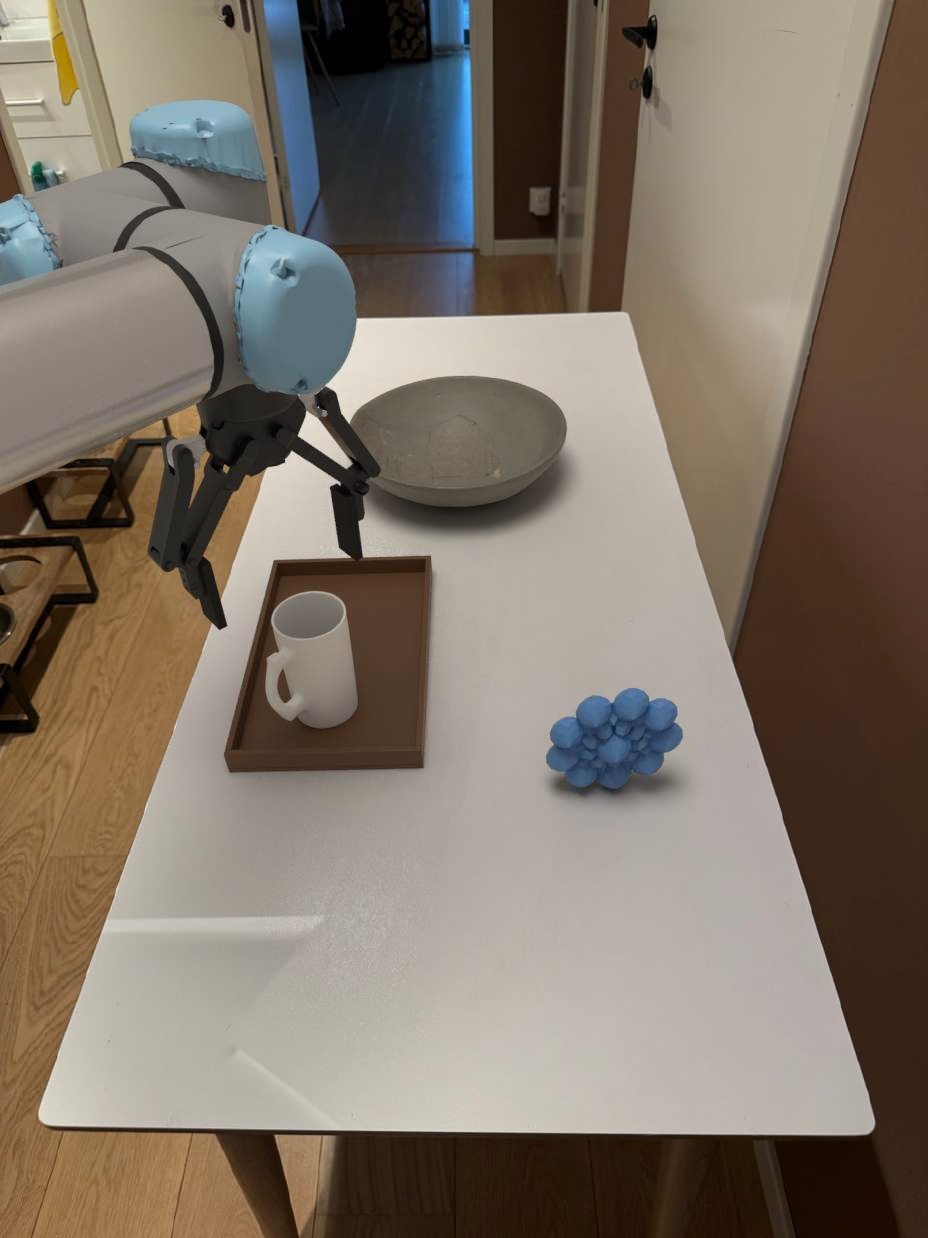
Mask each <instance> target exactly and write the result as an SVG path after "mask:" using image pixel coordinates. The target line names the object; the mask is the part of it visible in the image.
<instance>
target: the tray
mask: <svg viewBox="0 0 928 1238" xmlns="http://www.w3.org/2000/svg"><path fill="white" fill-rule="evenodd" d="M432 585H433V561H432V555H429V554H428V555H403V556H402V555H401V556H400V555H399V556H363V558H362V559H360V560H358V561H355V560H354V559H353V558H351V557H330V558H329V557H326V558H323V557H322V558H293V559H291V558H289V559H273V561H272V565H271V569H270V573H269V576H268V581H267V585H266V588H265V592H264V596H263V600H262V605H261V608H260V612H259V615H258V620H257V624H256V627H255V630H254V635H253V639H252V642H251V647H250V651H249V655H248V657H247V658H248V659H247V662H246V666H245V671H244V674H243V678H242V681H241V685H240V689H239V694H238V698H237V702H236V706H235V709H234V712H233V717H232V721H231V724H230V729H229V733H228V736H227V740H226V745H225V748H224V752H223V758H224V760H225V763H226V766H227V769H228V772H229V773H243V772H244V773H246V772H249V773H250V772H285V771H286V772H288V771H289V772H290V771H291V772H293V771H335V770H378V769H380V770H381V769H382V770H384V769H386V770H387V769H418V768H419V769H423V768H424V761H425V743H426V741H425V740H426V723H427V722H426V719H427V718H426V717H427V701H428V700H427V699H428V698H427V697H428V679H429V678H428V675H429V655H430V654H429V652H430V632H431V630H430V629H431V612H432V589H433V586H432ZM309 591H321V592H327V593H331V594H333V595H335V596H337V597H338V598H340V599H341V600H342V602H343V603H344V605H345V608H346V615H347V621H348V627H349V634H350V642H351V650H352V657H353V665H354V672H355V679H356V689H357V697H358V705H357V709H356V711H355V713H354V714H353V715H352V716H351V717H350V718H349V719H348V720H347V721H346V722H344V723H342V724H340V725H338V726H335V727H331V728H314V727H310V726H308V725H306V724H304V723H303V722H301V721H300V720H299V718H298V717H297V716H296V717H295V718H294V719H293V720H292V721H288V720H286V719H284V718H282V717H281V716H280V715H279V714H278V713H277V712H276V711H275V710H274V709H273V708H272V707H271V705H270V703H269V701H268V699H267V695H266V687H265V683H266V672H267V658H268V657H269V656H271V655H272V654H273V653H275V652H276V653H279V650H278V646H277V643H276V639H275V635H274V631H273V626H272V622H271V618H272V614H273V612H274V610H275V609H276V607H277V606H278V605H279V604H280V603H281V602H283V601H284V600H286V599H287V598H289V597H291V596H293V595H296V594H299V593H303V592H309ZM277 690H278V694H279V697H280V699H281V700H282V702H283V703H287V702H288V701H289V700H291V695H290V691H289V687H288V684H287V680H286V676H285V672H284V669H283V668H282V670H281V672H280V675H279V678H278V683H277Z"/></svg>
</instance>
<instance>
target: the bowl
mask: <svg viewBox="0 0 928 1238" xmlns="http://www.w3.org/2000/svg"><path fill="white" fill-rule="evenodd" d="M348 423H349V424H350V426H351V427H352V429H353V430H354V431H355V433H356V434H357V435H358V437H359V438H360V440H361V441H362V442H363V444H364V445H365V447H366V448H367V449H368V451H369V452H370V453H371V455H372V456H373V458H374V459H375V460H376V462H377V463H378V465H379V466H380V468H381V472H380V474H379V475H378V476H377V477H376V478H371V477H370V478H369V479H370V480H371V481H372V482H373V483H374V484H375V485H377V486H378V487H380V488H381V489H383V490H384V491H386V492H388V493H390V494H392V495H394V496H396V497H398V498H400V499H404V500H407V501H411V502H414V503H418V504H422V505H426V506H432V507H449V508H450V507H453V508H466V507H467V508H469V507H474V506H482V505H488V504H492V503H497V502H500V501H504V500H506V499H509V498H510V497H512V496H515V495H516V494H518V493H520V492H522V491H524V489H526V488H528V487H529V486H530V485H531V484H532V483H534V481H536V480H537V479H539V477H541V476H542V475H543V474H544V473H545V472H546V471H547V470H548V469H549V468H550V467H551V466H552V465H553V463H554V462H555V461H556V460H557V458H558V457H559V455H560V454H561V452H562V449H563V447H564V445H565V442H566V438H567V433H568V423H567V418H566V416H565V413H564V411H563V410H562V408H561V407H560V406H559V405H558V404H557V402H556V401H555V400H553V399H552V398H551V397H550V396H548V395H547V394H545V393H544V392H542V391H540V390H539V389H535V388H533V387H532V386H531V387H530V386H529V385H525V384H522V383H519V382H517V381H512V380H508V379H503V378H497V377H490V376H482V375H481V376H480V375H447V376H439V377H431V378H427V379H426V378H425V379H421V380H417V381H413V382H410V383H406V384H403V385H400V386H397V387H395V388H392V389H390V390H388V391H385V392H383V393H381V394H379V395H377V396H375V397H374V398H372V399H370V400H368V402H366V403H364V404H363V405H361V406H360V407H359V408H358V409H356V411H355V412H354V414H353V415H352V417H351V419H350V420H349V422H348Z"/></svg>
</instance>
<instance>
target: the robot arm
mask: <svg viewBox="0 0 928 1238" xmlns="http://www.w3.org/2000/svg"><path fill="white" fill-rule="evenodd" d="M128 126H129V127H128V129H129V130H128V131H129V136H130V142H131V147H130V149H129V150H130V152H131V154H132V156H133V157H134V158H133V159H132V160H130V161H126V162H124V163H122V164H120V165H119V166H115V167H114V168H109V169H107V170H104V171H100V172H97V173H94V174H91V175H88V176H87V175H86V176H83V177H81V178H78V179H74V180H70V181H67V182H64V183H61V184H57V185H54V186H51V187H48V188H44V189H42V190H38V191H35V192H32V193H27V194H25V195H23V194H21V193H17V194H14V195H13V197H12V198H11V199H9V200H6V201H4V202H1V203H0V496H1V495H2V494H5V493H7V492H9V491H12V490H13V489H16V488H18V487H20V486H22V485H24V484H26V483H29V482H30V481H34V480H35V479H37V478H40V477H42V476H44V475H46V474H48V473H50V472H52V471H55V470H56V469H59V468H61V467H64V466H65V465H67V464H69V463H72V462H74V461H76V460H78V459H80V458H83V457H85V456H87V455H89V454H91V453H93V452H95V451H98V450H100V449H102V448H104V447H107V446H108V445H110V444H113V443H115V442H117V441H119V440H122V439H123V438H125V437H129V436H130V435H132V434H134V433H137V432H139V431H140V430H143V429H146V428H147V427H149V426H151V425H154V424H155V423H158V422H160V421H162V420H165V419H167V418H169V417H171V416H173V415H175V414H177V413H179V412H181V411H184V410H186V409H188V408H191V407H193V406H195V407H196V410H197V413H198V417H199V420H200V426H199V431H198V434H196V435H193V436H188V437H185V438H184V437H183V438H181V439H178V438H177V437H175V435H166V436H164V437H163V438H162V440H161V445H160V446H161V453H162V459H163V465H164V467H163V473H162V478H161V483H160V486H159V492H158V497H157V501H156V505H155V511H154V516H153V520H152V521H153V522H152V526H151V530H150V536H149V540H148V545H147V551H146V552H147V553H146V554H147V556H148V557H149V558H150V559H151V560H152V561H153V562H154V563H155V564H156V565H157V566H158V567H159V568H160V569H161V571H163V572H164V573H171V572H173V571H174V570H175V569H177V570H178V573H179V576H180V578H181V579H180V580H181V583H182V586H183V588H184V589H185V590H186V591H187V592H188V593H189V595H191V597H192V598H194V600H199V604H200V607H201V611H202V614H203V616H204V617H205V618H207V619H208V621H209V622H211V624H212V625H213V626H215V628H216V629H217V630H219V631H221V630H224V629H225V628H227V627H228V623H227V619H226V614H225V611H224V608H223V603H222V600H221V596H220V593H219V588H218V585H217V581H216V577H215V573H214V570H213V566H212V563H211V562H210V560H208V559H207V557H205V556H204V554H205V552H206V550H207V548H208V547H209V544H210V542H211V540H212V537H213V536H214V533H215V531H216V530H217V527H218V525H219V523H220V520H221V518H222V516H223V514H224V512H225V510H226V508H227V506H228V504H229V502H230V499H231V497H232V495H233V493H235V492H238V491H239V490H240V488H241V486H242V484H243V481H244V479H245V478H246V476H248V477H250V478H252V477H255V476H257V475H260V474H261V473H262V472H264V471H265V470H266V469H268V468H273V467H279V466H281V465H283V464H285V463H286V459H288V457H289V456H290V455H291V453H292V452H293V453H295V454H296V455H297V456H299V457H301V458H302V459H304V461H307V462H308V463H310V464H311V465H313V466H315V467H316V468H317V469H319V470H320V471H322V472H323V473H324V474H326V475H328V476H329V477H331V478H333V480H335V481H337V482H339V483H334V484H332V485H330V486H329V491H330V497H331V504H332V512H333V518H334V524H335V532H336V538H337V545H338V549H339V550H341V551H342V553H343V552H344V553H345V554H346V555H347V556H349V558H353V559H354V560H355V561H358V560H360V559H362V558H363V557H364V555H363V554H364V553H363V546H362V538H361V530H360V523H359V522H361V521H363V520H364V518H365V516H366V515H365V514H366V512H365V511H366V510H365V504H364V503H365V502H364V497H366V495H368V494H369V492H370V488H371V486H370V484H369V483H368V482H367V481H368V480H369V479H370V477H371V478H376V477H377V476H378V475H379V474H380V472H381V468H380V466H379V465H378V463H377V462H376V460H375V459H374V458H373V456H372V455H371V453H370V452H369V451H368V449H367V448H366V447H365V445H364V444H363V442H362V441H361V440H360V438H359V437H358V435H357V434H356V433H355V431H354V430H353V429H352V427H351V426H350V424H349V423H350V422H348V420H347V419H346V418H345V416H344V414H342V409H341V406H340V402H339V398H338V394H337V391H335V390H334V389H332V388H330V387H328V386H327V385H328V384H329V383H330V382H331V381H332V380H333V379H334V377H335V376H336V375H337V374H338V373H339V371H340V370H341V369H342V367H343V366H344V364H345V362H346V360H347V359H348V356H349V354H350V351H351V349H352V346H353V343H354V340H355V335H356V330H357V322H358V314H357V309H356V305H357V301H356V293H357V292H356V288H355V284H354V281H353V278H352V275H351V273H350V271H349V268H348V267H347V265H346V263H345V262H344V261H343V259H342V258H341V257H340V255H339V254H338V253H337V252H335V251H334V250H333V249H332V248H330V247H329V246H328V245H326V244H324V243H322V242H321V241H318V240H316V239H312V238H309V237H306V236H302V235H300V234H296V233H294V232H290V231H288V230H287V229H286V228H285V227H282V226H277V225H275V224H273V219H272V211H271V206H270V205H271V204H270V198H269V192H268V185H267V184H268V176H267V174H266V172H265V167H264V163H263V158H262V153H261V149H260V144H259V140H258V136H257V133H256V128H255V125H254V122H253V120H252V117H250V115H249V114H248V112H247V111H246V110H245V109H243V108H242V107H240V106H239V105H236V104H234V103H231V102H228V101H221V100H215V99H213V100H212V99H193V100H190V99H189V100H180V101H179V100H178V101H172V102H165V103H160V104H157V105H153V106H149V107H146V108H145V109H143V110H142V111H140V112H138V113H136V114H134V115H133V117H131V119H130V121H129V124H128ZM307 412H308V413H309V414H310V415H312V416H313V417H315V418H317V419H318V421H319V422H320V423H321V425H322V426H323V427H324V429H325V430H326V431H327V432H328V433H329V435H330V436H331V438H332V439H333V440H334V442H335V443H336V444H337V445H338V447H339V448H340V449H341V451H342V452H343V454H344V455H345V457H346V458H347V459H348V460H349V461H350V462H351V464H350V465H349V466H348V467H347V468H346V467H345V466H343V465H341V464H340V463H338V462H337V461H336V460H334V459H333V458H331V457H330V456H328V455H327V454H325V453H323V452H322V451H321V450H319V449H318V448H316V447H315V446H313V445H312V444H311V443H309V442H308V441H306V440H305V439H303V438H302V437H300V436H299V434H300V431H301V429H302V426H303V424H304V421H305V419H306V416H307ZM206 452H207V453H209V456H208V457H207V460H206V462H205V464H204V466H203V477H202V480H201V482H200V484H199V486H198V489H197V490H196V493H195V495H194V497H193V491H194V487H195V480H196V470H198V469H200V467H201V463H200V461H201V456H203V454H204V453H206ZM225 466H227V468H228V470H227V472H225V470H224V467H225ZM192 497H193V499H192Z"/></svg>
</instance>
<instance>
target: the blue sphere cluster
mask: <svg viewBox="0 0 928 1238" xmlns="http://www.w3.org/2000/svg"><path fill="white" fill-rule="evenodd" d="M678 715H679V713H678V706H677V705H676V704H675V703H674V702H673V701H672V700H671V699H667V698H665V697H662V698H661V697H660V698H659V697H658V698H654V699H652V700H651V701H650V696H649V694H648V693H646V691H645V690H642V689H640V688H637V687H628V688H626V689H624V690H621V691H620V692H619V693H618V694H617V695H615V697H614V699H613V702H611V701H610V699H608V698H607V697H605V696H602V695H599V694H598V695H597V694H596V695H595V694H594V695H593V694H592V695H590V696H587V697H586V698H584V700H581V702H580V703H579V704H578V706H577V708H576V710H575V716H564V717H561V718H559V719H558V720H557V721H556V722H555V723H554V724H553V725H552V726H551V727H550V730H549V740H550V741H551V743H552V744H553V745H552V746H550V747H549V748H548V750H547V753H546V755H545V759H546V760H545V763H546V765H547V766H548V767H549V768H550V770H553V771H555V772H557V773H558V772H559V773H564V779H565V780H566V781H567V783H568V784H569V785H571V786H572V787H575V788H586V787H588V786H590V785H591V784H592V783H593V782H595V780H596V779H597V781H598V782H599V784H600V785H601V786H602V787H605V788H606V789H612V790H615V789H620V788H621V787H623V786H625V784H626V783H628V781H629V780H630V779H631V776H632V774H633V773H635V774H637V775H640V776H651V775H653V774H655V773H656V772H658V770H660V769H661V768H662V766H663V764H664V762H665V754H666V753H667V754H668V753H670V752H672V751H674V750H675V749H676V748H677V747H679V746H680V744H681V742H682V741H683V738H684V732H683V728H682V726H680V725H679V724H678V722H675V721H676V719H677V718H678ZM632 772H633V773H632Z"/></svg>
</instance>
